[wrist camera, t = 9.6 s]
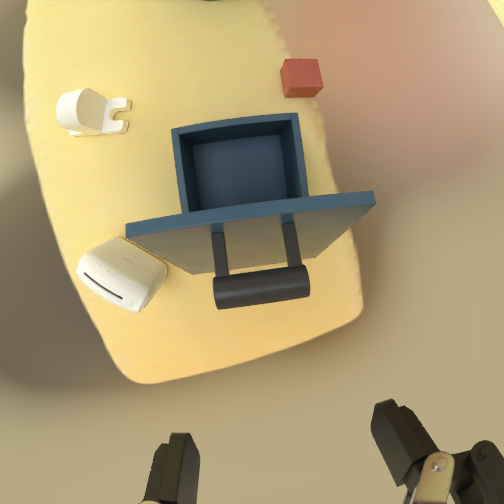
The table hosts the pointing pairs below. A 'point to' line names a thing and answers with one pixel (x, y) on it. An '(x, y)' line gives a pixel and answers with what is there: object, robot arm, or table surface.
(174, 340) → the table surface
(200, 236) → the freezer lid
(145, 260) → the photo printer
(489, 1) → the table surface
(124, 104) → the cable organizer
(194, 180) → the box
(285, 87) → the block
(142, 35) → the table surface
